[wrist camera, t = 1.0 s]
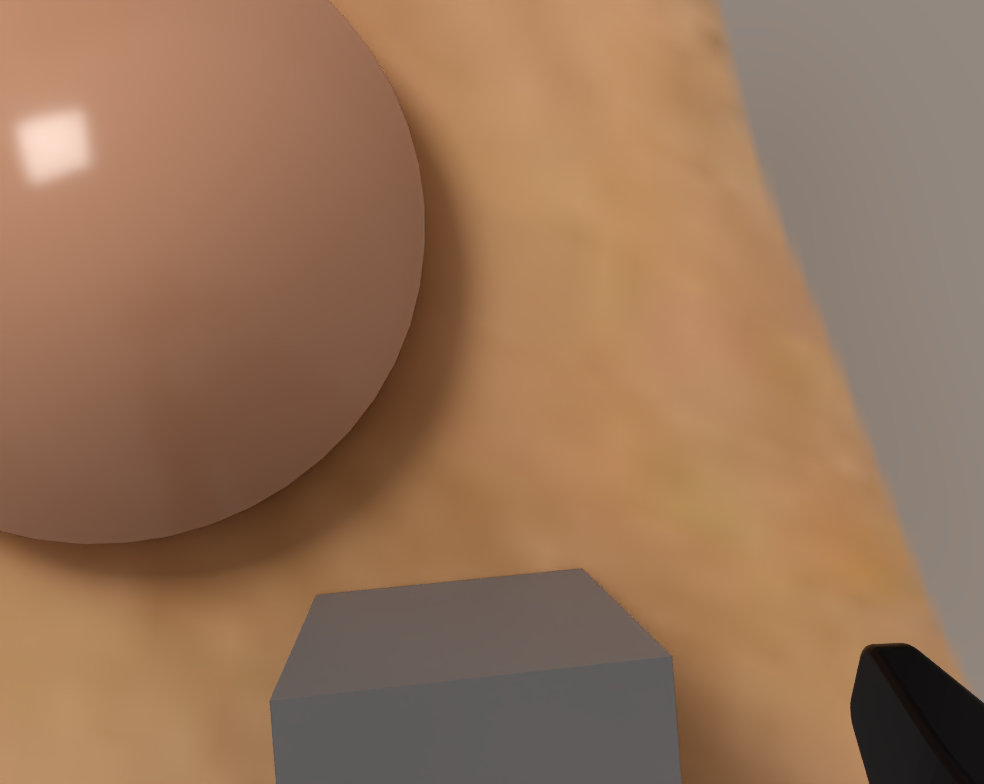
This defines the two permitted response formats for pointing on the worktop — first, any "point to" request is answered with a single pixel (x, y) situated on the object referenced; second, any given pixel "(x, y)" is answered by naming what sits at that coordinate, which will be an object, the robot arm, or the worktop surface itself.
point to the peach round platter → (191, 256)
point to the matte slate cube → (476, 688)
